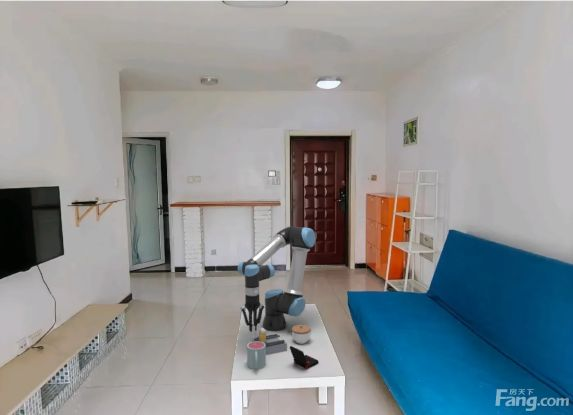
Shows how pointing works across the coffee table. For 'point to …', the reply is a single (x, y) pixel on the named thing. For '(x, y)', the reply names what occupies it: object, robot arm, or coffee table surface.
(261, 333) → the handle
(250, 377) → the coffee table surface
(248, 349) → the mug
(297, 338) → the lidded jar
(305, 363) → the handheld gaming console
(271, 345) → the switch panel
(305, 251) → the robot arm
